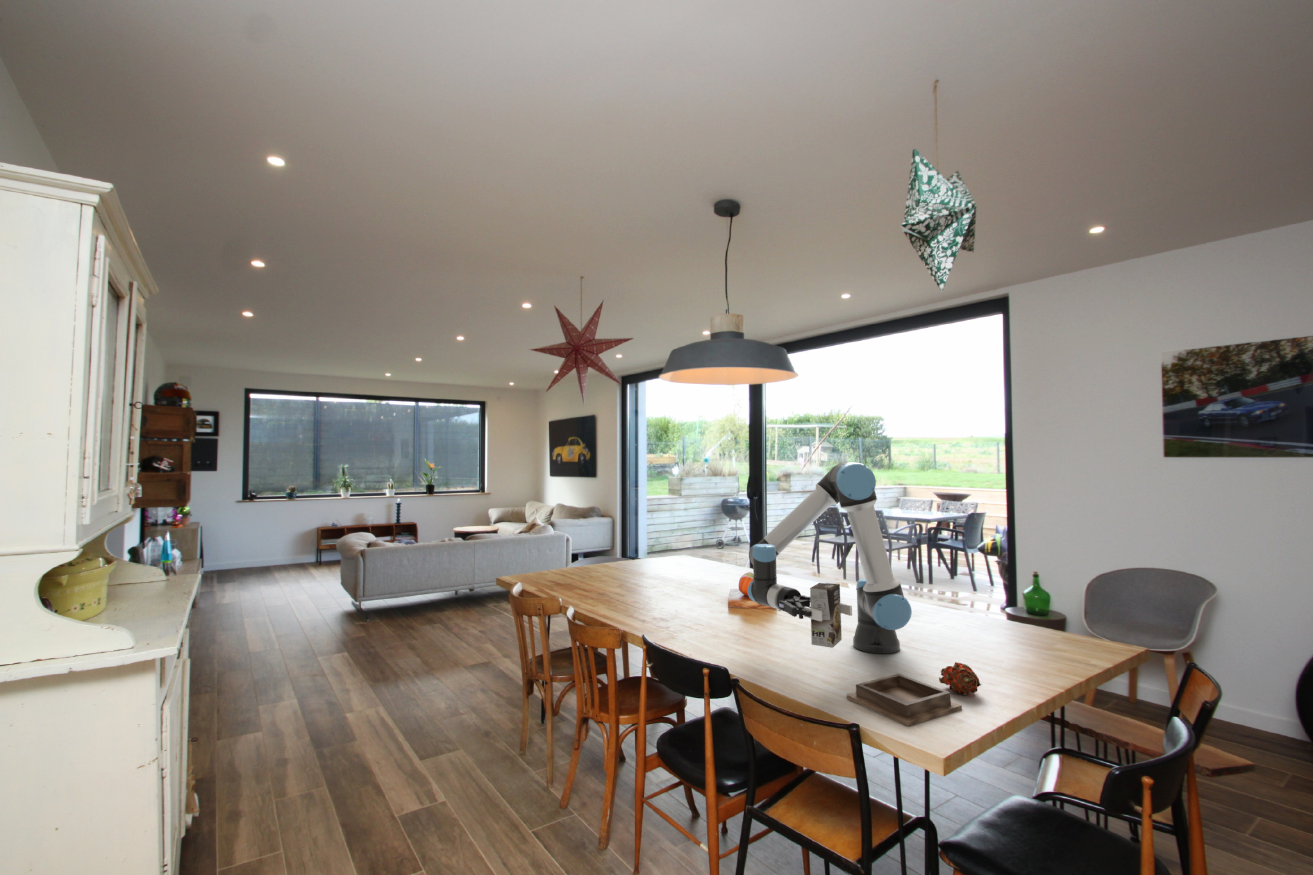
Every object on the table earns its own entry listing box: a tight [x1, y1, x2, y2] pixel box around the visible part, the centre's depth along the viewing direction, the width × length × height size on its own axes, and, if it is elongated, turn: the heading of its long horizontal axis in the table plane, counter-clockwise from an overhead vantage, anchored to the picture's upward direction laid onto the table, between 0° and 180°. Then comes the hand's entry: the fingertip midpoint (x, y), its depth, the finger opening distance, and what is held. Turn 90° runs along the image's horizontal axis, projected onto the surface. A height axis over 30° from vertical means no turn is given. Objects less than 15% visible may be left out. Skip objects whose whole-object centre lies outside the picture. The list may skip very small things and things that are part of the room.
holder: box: [845, 673, 963, 727], centre depth 160 cm, size 20×20×4 cm
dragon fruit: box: [938, 661, 982, 696], centre depth 168 cm, size 8×8×12 cm
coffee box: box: [809, 582, 843, 649], centre depth 174 cm, size 9×6×16 cm
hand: (836, 613), depth 171 cm, fingers closed on coffee box, 11 cm apart
